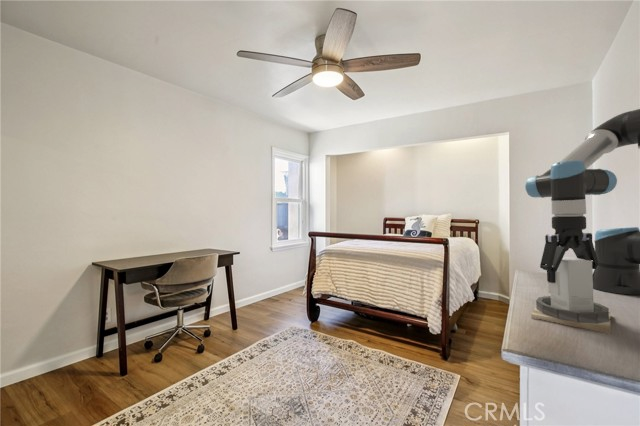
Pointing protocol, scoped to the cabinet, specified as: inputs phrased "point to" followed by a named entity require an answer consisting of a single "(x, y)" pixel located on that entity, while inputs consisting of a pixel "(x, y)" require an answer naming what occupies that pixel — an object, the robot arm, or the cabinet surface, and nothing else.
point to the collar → (573, 315)
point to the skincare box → (575, 285)
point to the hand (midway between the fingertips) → (570, 292)
